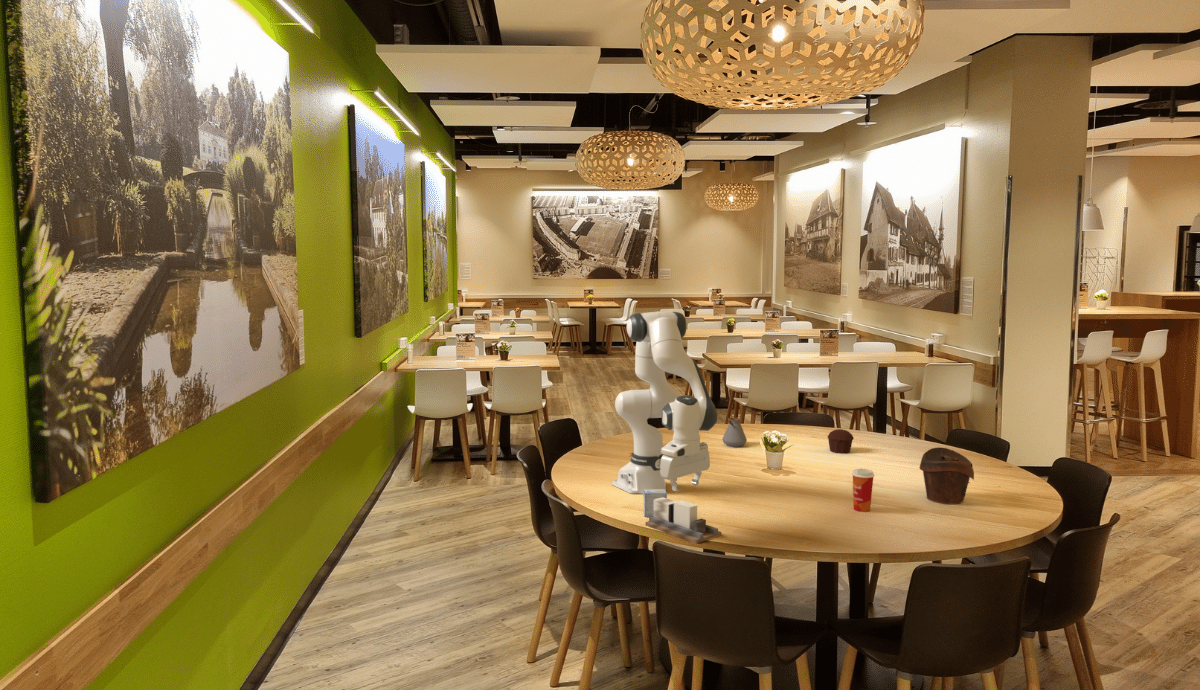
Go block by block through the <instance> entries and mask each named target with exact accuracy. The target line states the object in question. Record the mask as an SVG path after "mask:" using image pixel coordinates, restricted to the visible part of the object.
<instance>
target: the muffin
mask: <svg viewBox="0 0 1200 690" xmlns="http://www.w3.org/2000/svg"><path fill="white" fill-rule="evenodd" d="M827 439H828V446H829V448H828V449H829V452H831V453H833V454H841V455H843V454H850V453H851V450H852V445H853V440H854V435H853V434H852V433H851V432H849V431H848V430H847V429H842V428H841V429H839V428H838V429H837V428H836V429H834V430H831V431H830V432H829V433H828V435H827Z"/></svg>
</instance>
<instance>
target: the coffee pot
mask: <svg viewBox="0 0 1200 690" xmlns="http://www.w3.org/2000/svg"><path fill="white" fill-rule="evenodd" d="M727 420H728V421H727V422H728V424H727V427H726V430H725V432H724V434H723V436H722V438H721V439H722V442H723V443H724V445H725V446H727V447H729V448H741V447H743V446H744V445H745V444H746V443H747V437H746V434H745V432H744V429H743V427H742V425H741V423H742V420H743V419H742V418H740V417H729V418H727Z"/></svg>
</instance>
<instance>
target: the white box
mask: <svg viewBox="0 0 1200 690" xmlns="http://www.w3.org/2000/svg"><path fill="white" fill-rule="evenodd" d="M695 520H698V505H697V504H695V503H691V502H689V501H684V500H682V499H681V500H677V501H676V502H674V504H673V522H674V524H677V525H680V526H683V527H686V528H689V529H691V530H692V521H695Z"/></svg>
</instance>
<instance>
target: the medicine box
mask: <svg viewBox="0 0 1200 690" xmlns="http://www.w3.org/2000/svg"><path fill="white" fill-rule="evenodd" d="M666 490H667V489H666ZM666 490H665V489H651V490H644V494H642V495H643V501H642V502H643V509H642V511H643V515H644V518H649V517H650V516H654V500H655V499H658V498H662V497H664V498H667V499H668V492H667V491H666Z"/></svg>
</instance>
